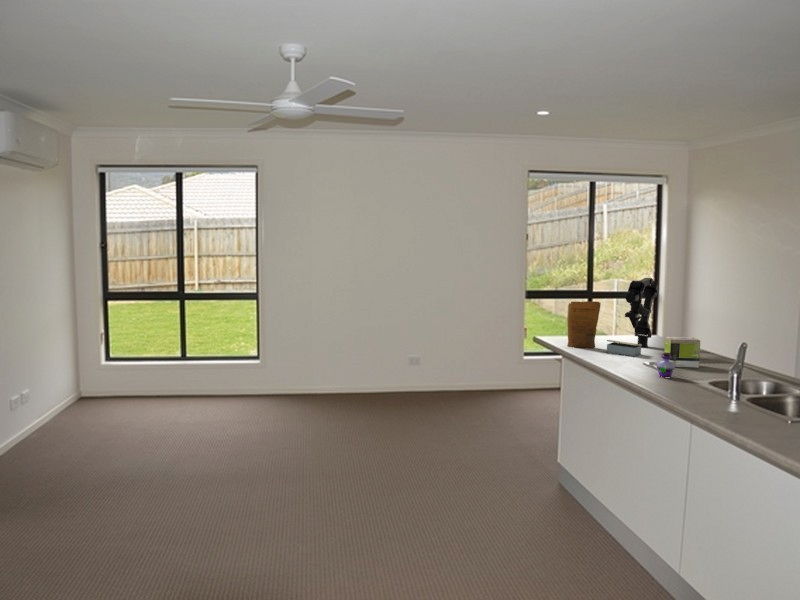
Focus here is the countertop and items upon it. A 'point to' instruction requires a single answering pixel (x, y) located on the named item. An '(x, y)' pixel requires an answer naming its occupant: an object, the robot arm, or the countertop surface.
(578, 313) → the pancake mix bag
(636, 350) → the slate box
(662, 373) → the potion bottle
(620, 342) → the birch lid
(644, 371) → the countertop surface
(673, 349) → the tea box
